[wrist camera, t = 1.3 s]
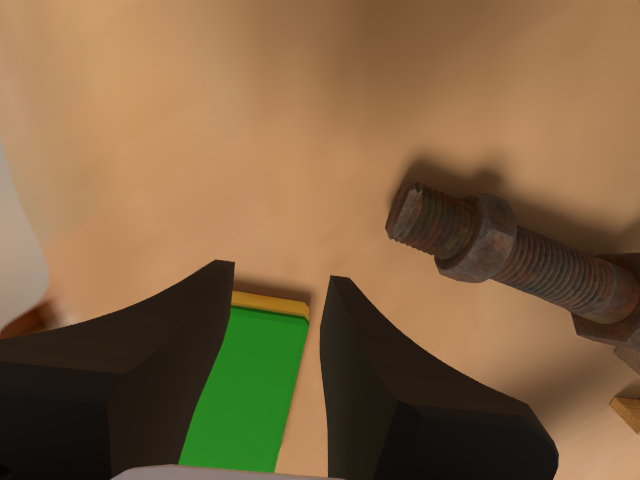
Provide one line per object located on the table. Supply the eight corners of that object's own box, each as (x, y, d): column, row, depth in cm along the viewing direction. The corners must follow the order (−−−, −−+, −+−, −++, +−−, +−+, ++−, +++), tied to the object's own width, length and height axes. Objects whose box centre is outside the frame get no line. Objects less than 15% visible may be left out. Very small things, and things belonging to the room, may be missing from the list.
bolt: (389, 179, 22) (592, 264, 24) (363, 257, 21) (576, 338, 23) (438, 144, 16) (698, 260, 18) (405, 248, 15) (682, 358, 17)
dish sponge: (183, 437, 28) (172, 467, 25) (197, 281, 22) (185, 302, 20) (275, 448, 28) (272, 479, 26) (310, 299, 23) (310, 322, 21)
